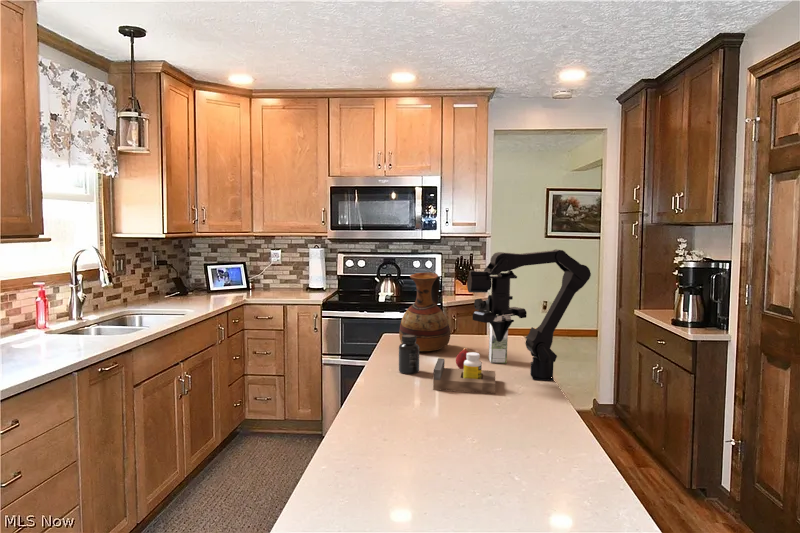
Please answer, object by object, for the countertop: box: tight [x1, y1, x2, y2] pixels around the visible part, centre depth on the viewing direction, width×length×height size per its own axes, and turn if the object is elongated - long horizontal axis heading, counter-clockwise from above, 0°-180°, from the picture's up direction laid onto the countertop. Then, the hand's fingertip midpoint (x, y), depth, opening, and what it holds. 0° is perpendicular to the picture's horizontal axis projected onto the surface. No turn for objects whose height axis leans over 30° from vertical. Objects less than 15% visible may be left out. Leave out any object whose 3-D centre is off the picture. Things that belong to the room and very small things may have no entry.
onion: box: [455, 347, 469, 369], centre depth 184 cm, size 6×6×8 cm
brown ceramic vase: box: [398, 271, 451, 352], centre depth 216 cm, size 20×20×30 cm
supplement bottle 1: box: [398, 335, 420, 375], centre depth 183 cm, size 7×7×12 cm
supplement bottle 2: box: [463, 351, 483, 379], centre depth 169 cm, size 5×5×10 cm
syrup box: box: [488, 323, 509, 364], centre depth 198 cm, size 6×6×14 cm
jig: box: [432, 357, 496, 395], centre depth 170 cm, size 18×14×6 cm
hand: (499, 341), depth 176 cm, fingers closed
